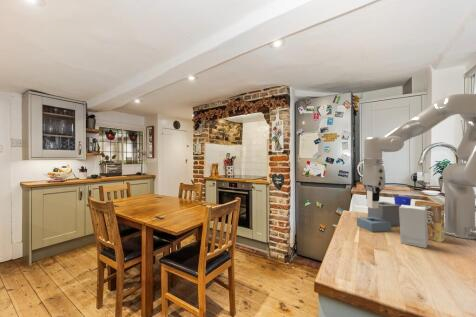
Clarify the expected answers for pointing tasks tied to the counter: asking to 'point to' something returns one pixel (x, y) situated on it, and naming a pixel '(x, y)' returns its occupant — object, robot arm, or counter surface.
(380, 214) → the raised socket block
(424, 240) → the skincare box
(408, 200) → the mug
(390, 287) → the counter surface
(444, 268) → the counter surface
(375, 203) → the plug
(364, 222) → the low socket block
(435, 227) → the candy box
